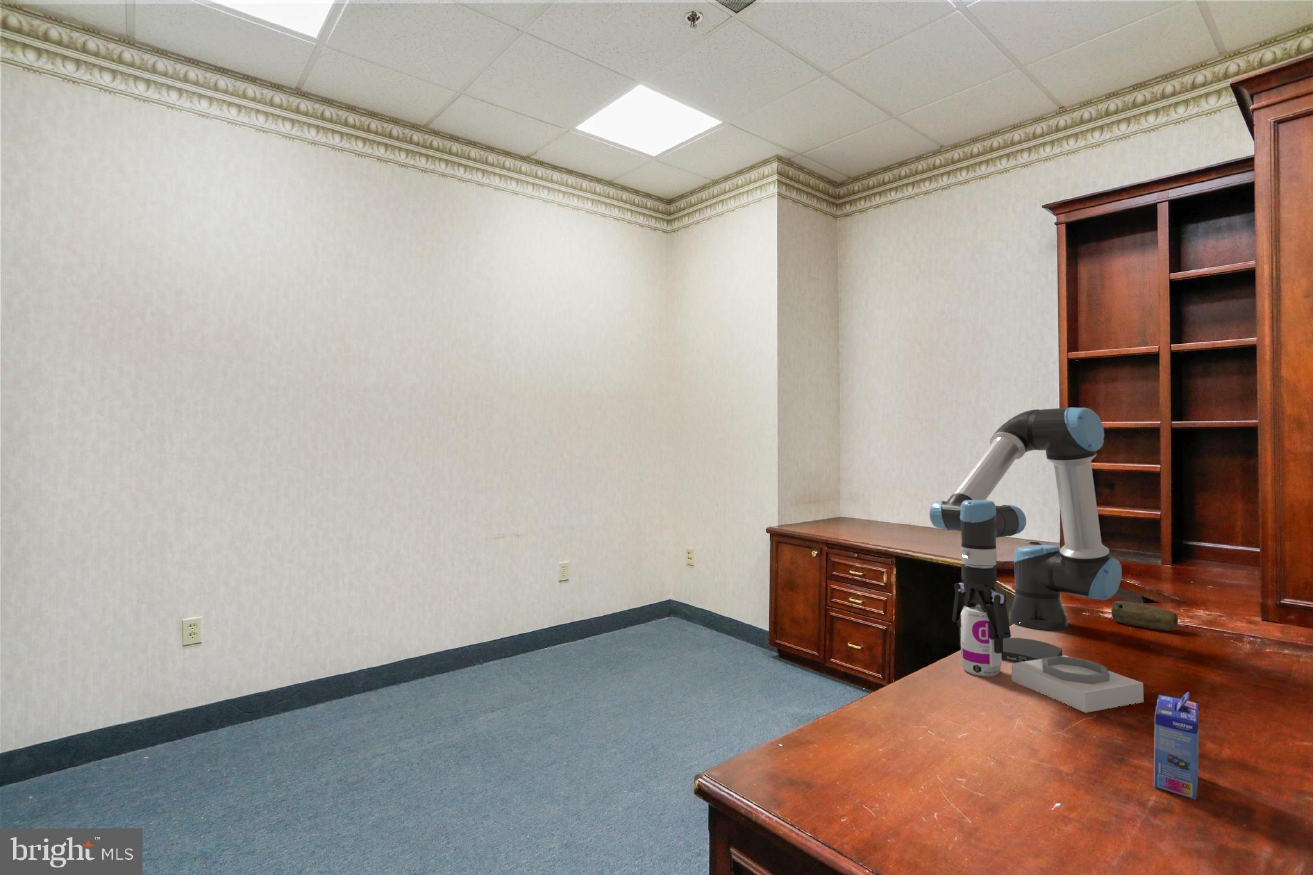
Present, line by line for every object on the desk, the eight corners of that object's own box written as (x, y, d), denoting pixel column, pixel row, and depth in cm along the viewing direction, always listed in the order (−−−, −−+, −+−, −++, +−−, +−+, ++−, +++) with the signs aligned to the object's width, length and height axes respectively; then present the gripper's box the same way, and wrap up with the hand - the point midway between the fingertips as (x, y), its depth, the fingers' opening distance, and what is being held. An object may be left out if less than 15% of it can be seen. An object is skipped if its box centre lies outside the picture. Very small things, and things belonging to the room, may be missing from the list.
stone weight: (1110, 624, 187) (1109, 602, 187) (1115, 619, 191) (1115, 597, 191) (1175, 635, 176) (1174, 611, 176) (1179, 630, 180) (1178, 606, 180)
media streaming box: (1065, 656, 161) (1065, 644, 161) (1052, 671, 151) (1052, 659, 151) (1002, 644, 171) (1002, 633, 171) (986, 658, 161) (986, 646, 161)
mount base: (1011, 680, 145) (1011, 656, 145) (1065, 672, 149) (1065, 649, 149) (1085, 712, 127) (1084, 685, 128) (1143, 702, 132) (1142, 675, 132)
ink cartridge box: (1199, 802, 96) (1197, 706, 96) (1153, 789, 100) (1151, 697, 100) (1200, 775, 104) (1198, 687, 104) (1157, 764, 107) (1155, 679, 107)
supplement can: (1005, 678, 146) (1004, 613, 146) (967, 676, 148) (966, 612, 148) (994, 666, 154) (992, 604, 154) (957, 664, 156) (956, 603, 156)
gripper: (934, 558, 160) (936, 647, 160) (1001, 574, 140) (1003, 677, 140) (959, 556, 162) (960, 644, 162) (1028, 572, 142) (1030, 672, 142)
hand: (980, 659), depth 151 cm, fingers closed on supplement can, 8 cm apart
